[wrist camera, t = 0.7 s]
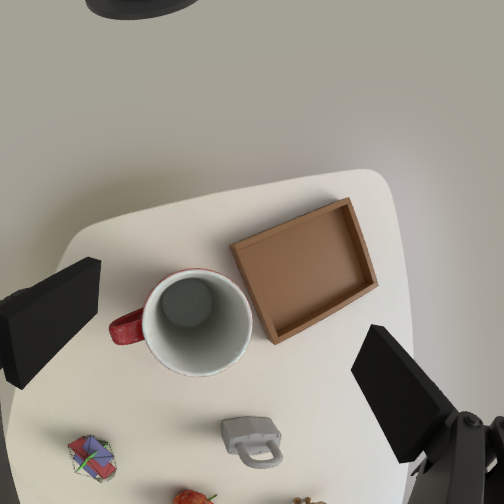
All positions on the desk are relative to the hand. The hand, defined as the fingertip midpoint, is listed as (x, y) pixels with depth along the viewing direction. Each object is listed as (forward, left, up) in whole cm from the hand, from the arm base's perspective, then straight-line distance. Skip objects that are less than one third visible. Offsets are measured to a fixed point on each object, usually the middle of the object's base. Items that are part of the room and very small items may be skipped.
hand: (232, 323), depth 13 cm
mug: (+2, -3, -24) cm, 24 cm away
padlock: (+23, -2, -24) cm, 33 cm away
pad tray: (+5, +15, -24) cm, 28 cm away
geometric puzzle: (+17, -24, -24) cm, 38 cm away
